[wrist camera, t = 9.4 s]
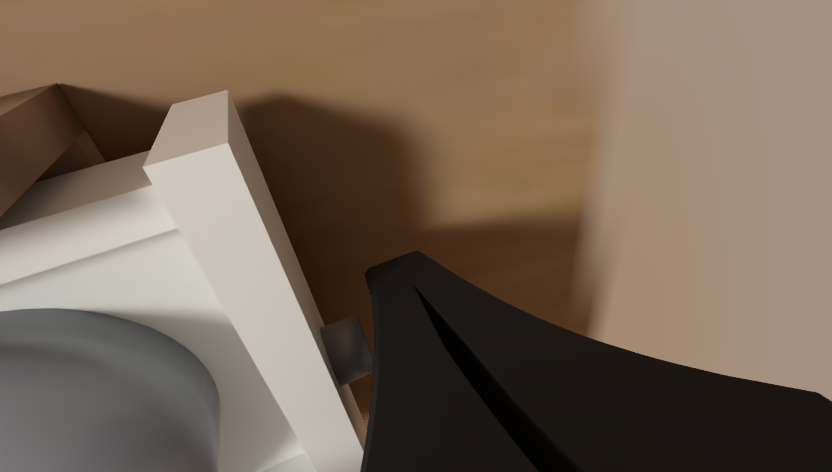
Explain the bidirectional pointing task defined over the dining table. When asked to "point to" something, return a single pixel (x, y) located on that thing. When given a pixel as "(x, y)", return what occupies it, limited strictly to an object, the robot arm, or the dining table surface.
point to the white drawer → (200, 284)
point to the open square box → (40, 141)
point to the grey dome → (102, 397)
